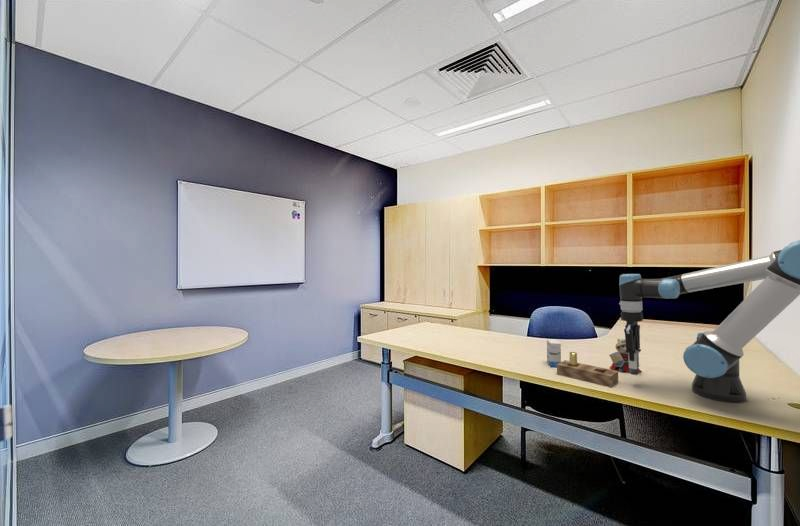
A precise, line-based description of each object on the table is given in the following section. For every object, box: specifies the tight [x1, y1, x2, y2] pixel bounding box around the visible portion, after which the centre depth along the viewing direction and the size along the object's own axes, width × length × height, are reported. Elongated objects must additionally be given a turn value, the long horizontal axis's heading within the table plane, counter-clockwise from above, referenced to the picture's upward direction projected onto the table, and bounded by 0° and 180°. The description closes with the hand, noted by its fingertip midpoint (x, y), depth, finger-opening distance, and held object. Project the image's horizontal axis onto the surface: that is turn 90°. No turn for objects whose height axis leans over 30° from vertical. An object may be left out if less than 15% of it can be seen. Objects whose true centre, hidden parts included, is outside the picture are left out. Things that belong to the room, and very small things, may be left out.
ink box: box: [546, 339, 562, 368], centre depth 167 cm, size 8×5×12 cm, turn 168°
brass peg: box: [569, 351, 578, 367], centre depth 152 cm, size 3×3×10 cm
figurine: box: [608, 338, 642, 373], centre depth 155 cm, size 13×11×15 cm
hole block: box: [556, 360, 619, 388], centre depth 148 cm, size 22×9×4 cm, turn 41°
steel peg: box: [629, 349, 640, 376], centre depth 139 cm, size 3×3×10 cm
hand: (634, 367), depth 138 cm, fingers closed on steel peg, 2 cm apart
